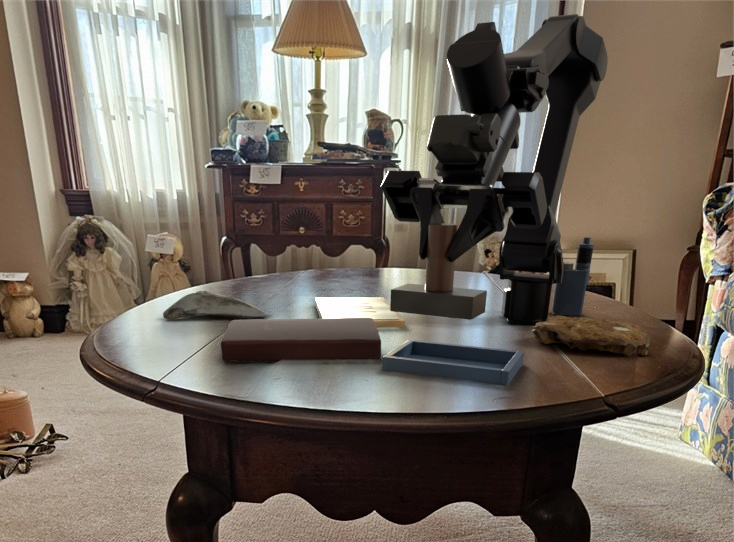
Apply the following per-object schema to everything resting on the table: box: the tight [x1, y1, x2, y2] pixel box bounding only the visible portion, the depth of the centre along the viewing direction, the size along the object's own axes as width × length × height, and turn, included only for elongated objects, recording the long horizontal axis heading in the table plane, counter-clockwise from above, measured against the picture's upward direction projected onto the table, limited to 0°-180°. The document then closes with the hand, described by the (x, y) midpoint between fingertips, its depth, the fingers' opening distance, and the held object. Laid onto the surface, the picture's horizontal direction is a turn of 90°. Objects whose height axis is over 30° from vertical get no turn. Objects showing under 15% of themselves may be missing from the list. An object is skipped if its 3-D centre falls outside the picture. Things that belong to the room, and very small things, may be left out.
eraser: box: [389, 222, 488, 321], centre depth 74 cm, size 10×5×10 cm, turn 63°
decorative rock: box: [531, 315, 651, 357], centre depth 87 cm, size 11×4×15 cm
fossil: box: [162, 290, 267, 320], centre depth 105 cm, size 11×5×15 cm
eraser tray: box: [381, 339, 525, 386], centre depth 77 cm, size 15×10×2 cm, turn 67°
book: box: [220, 317, 382, 363], centre depth 84 cm, size 12×19×3 cm, turn 94°
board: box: [314, 296, 406, 329], centre depth 105 cm, size 20×12×2 cm, turn 7°
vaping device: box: [551, 237, 595, 317], centre depth 107 cm, size 3×5×12 cm, turn 89°
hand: (435, 258), depth 73 cm, fingers closed on eraser, 3 cm apart
